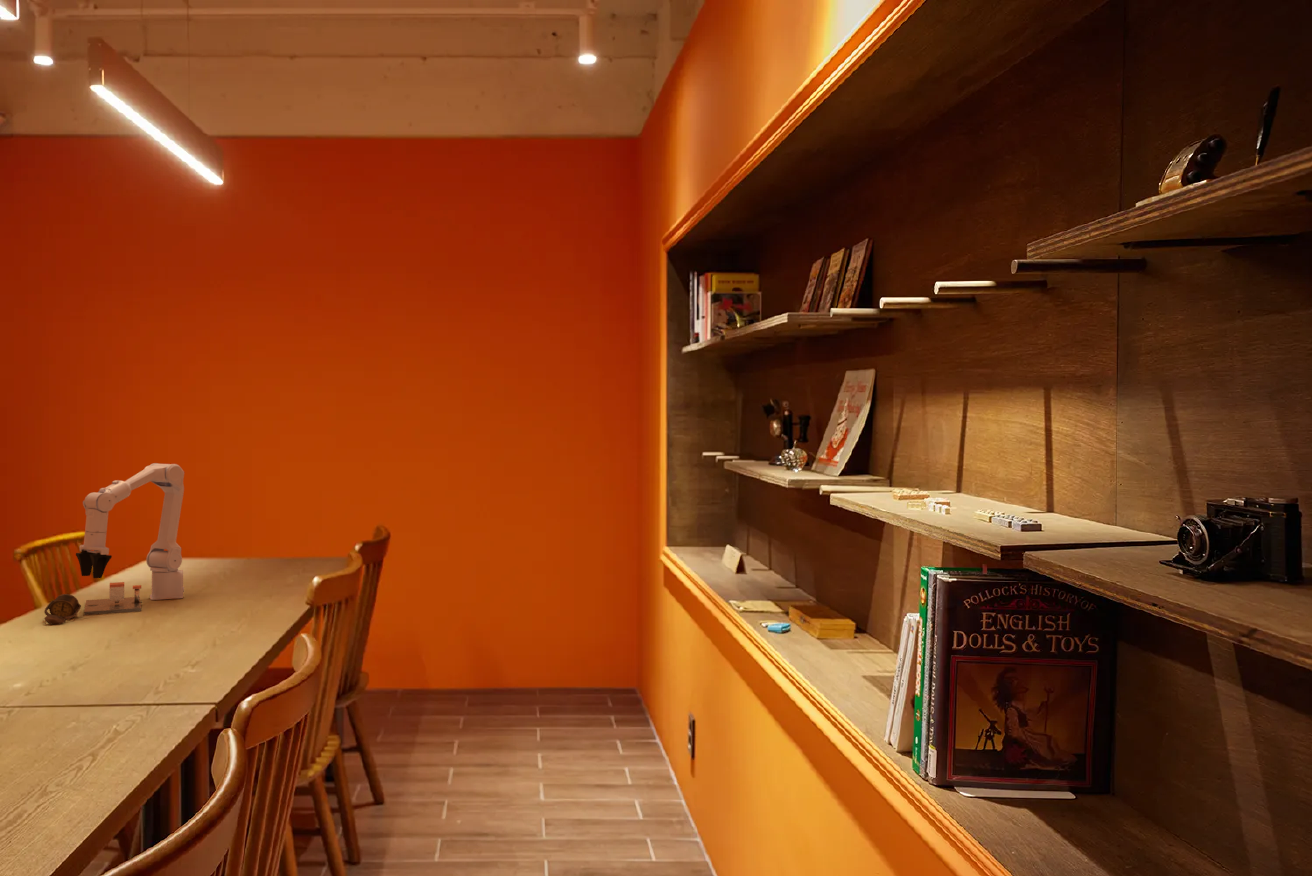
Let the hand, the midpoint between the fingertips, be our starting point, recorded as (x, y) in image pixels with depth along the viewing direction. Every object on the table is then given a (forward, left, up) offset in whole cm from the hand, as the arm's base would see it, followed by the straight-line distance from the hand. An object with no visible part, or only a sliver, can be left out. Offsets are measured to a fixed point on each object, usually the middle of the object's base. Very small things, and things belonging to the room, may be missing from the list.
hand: (91, 577), depth 293 cm
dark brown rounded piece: (+8, +9, -11) cm, 17 cm away
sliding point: (-7, -6, -9) cm, 13 cm away
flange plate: (-6, -6, -11) cm, 13 cm away
